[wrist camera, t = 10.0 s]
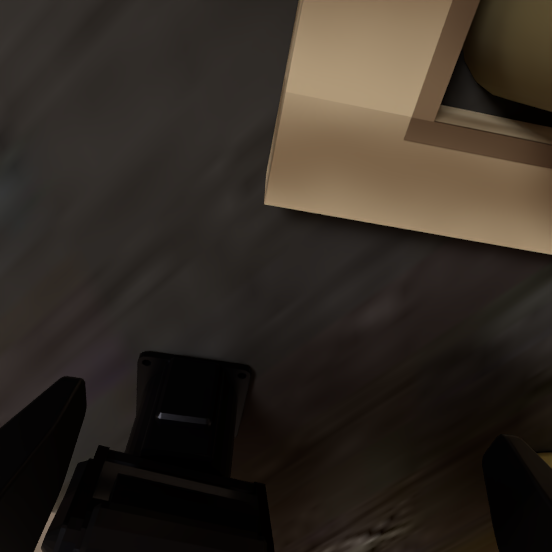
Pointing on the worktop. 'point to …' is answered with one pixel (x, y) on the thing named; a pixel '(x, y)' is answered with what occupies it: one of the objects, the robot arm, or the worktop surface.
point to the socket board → (402, 129)
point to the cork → (512, 50)
